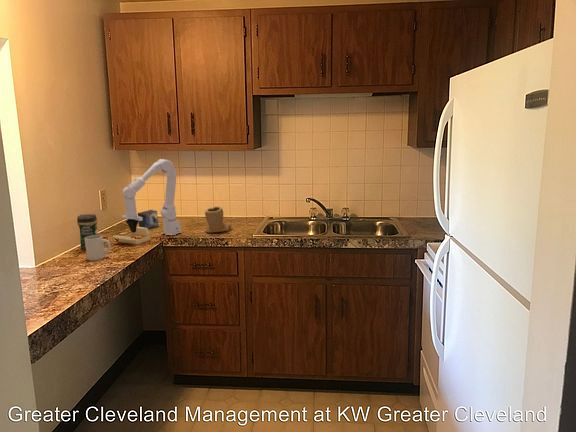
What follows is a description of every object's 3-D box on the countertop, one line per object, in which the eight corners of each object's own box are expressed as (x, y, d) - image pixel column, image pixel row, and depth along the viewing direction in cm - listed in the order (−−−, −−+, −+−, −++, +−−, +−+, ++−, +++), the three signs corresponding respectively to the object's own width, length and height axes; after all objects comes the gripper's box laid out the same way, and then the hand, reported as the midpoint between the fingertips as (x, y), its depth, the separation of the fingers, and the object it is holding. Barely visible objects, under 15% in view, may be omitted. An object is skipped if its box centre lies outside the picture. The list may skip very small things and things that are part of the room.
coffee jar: (79, 250, 244) (74, 216, 240) (84, 246, 252) (79, 213, 247) (97, 249, 245) (92, 215, 240) (102, 245, 252) (97, 212, 248)
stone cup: (204, 235, 264) (202, 210, 260) (206, 230, 275) (204, 205, 272) (231, 233, 265) (229, 208, 262) (231, 228, 277) (229, 204, 273)
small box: (145, 230, 280) (143, 214, 278) (138, 229, 284) (136, 212, 282) (159, 226, 288) (157, 210, 286) (152, 225, 292) (151, 209, 290)
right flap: (148, 234, 258) (150, 233, 259) (146, 229, 256) (147, 227, 257) (132, 232, 264) (134, 231, 265) (130, 227, 262) (131, 225, 263)
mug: (84, 261, 226) (81, 239, 223) (91, 255, 234) (88, 235, 231) (109, 259, 226) (106, 238, 223) (114, 254, 234) (112, 234, 232)
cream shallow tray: (150, 239, 258) (149, 235, 258) (136, 244, 250) (136, 240, 249) (133, 237, 265) (132, 233, 265) (119, 242, 257) (118, 237, 256)
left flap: (129, 237, 246) (129, 240, 246) (135, 238, 249) (134, 240, 249) (113, 235, 252) (113, 237, 252) (119, 235, 256) (118, 237, 256)
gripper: (116, 209, 254) (119, 232, 257) (134, 211, 246) (137, 235, 250) (126, 206, 259) (129, 229, 263) (144, 208, 252) (147, 232, 255)
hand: (133, 232), depth 256 cm, fingers closed
